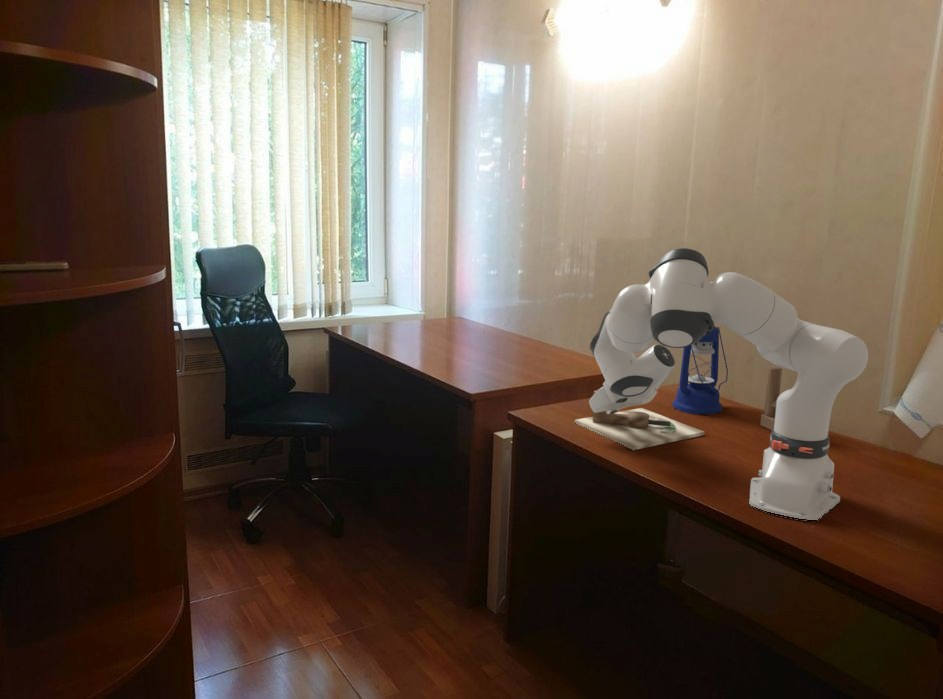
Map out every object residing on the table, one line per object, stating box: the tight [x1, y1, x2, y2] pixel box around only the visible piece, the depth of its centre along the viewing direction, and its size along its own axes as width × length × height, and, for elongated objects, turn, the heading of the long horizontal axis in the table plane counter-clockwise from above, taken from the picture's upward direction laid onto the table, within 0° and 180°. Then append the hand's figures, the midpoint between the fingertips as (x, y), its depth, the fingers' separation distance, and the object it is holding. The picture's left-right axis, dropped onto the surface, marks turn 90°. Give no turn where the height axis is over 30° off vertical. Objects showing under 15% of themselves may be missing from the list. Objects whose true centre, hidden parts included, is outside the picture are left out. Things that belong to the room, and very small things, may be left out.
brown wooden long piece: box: [592, 390, 671, 428], centre depth 205 cm, size 22×6×9 cm, turn 74°
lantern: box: [672, 325, 729, 415], centre depth 224 cm, size 17×15×30 cm
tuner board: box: [574, 407, 705, 451], centre depth 206 cm, size 26×26×1 cm
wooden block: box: [760, 365, 783, 432], centre depth 203 cm, size 4×11×18 cm, turn 16°
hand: (610, 411), depth 205 cm, fingers closed
